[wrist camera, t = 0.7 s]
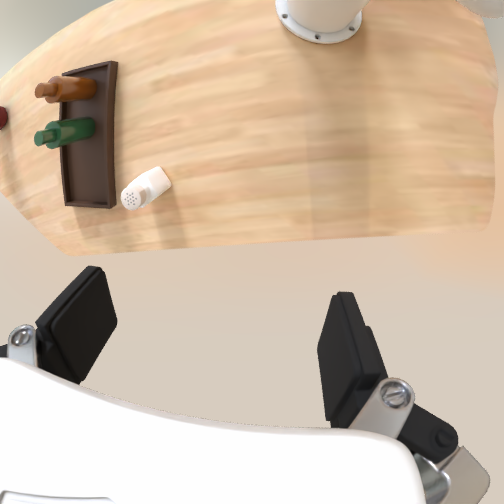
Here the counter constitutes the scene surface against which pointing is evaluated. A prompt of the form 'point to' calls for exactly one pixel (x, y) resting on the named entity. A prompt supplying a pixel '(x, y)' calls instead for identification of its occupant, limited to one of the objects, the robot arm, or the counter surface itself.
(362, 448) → the robot arm
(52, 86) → the amber bottle
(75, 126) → the green bottle
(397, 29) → the counter surface
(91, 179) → the tray
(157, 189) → the salt shaker
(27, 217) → the counter surface
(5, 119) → the cocoa
